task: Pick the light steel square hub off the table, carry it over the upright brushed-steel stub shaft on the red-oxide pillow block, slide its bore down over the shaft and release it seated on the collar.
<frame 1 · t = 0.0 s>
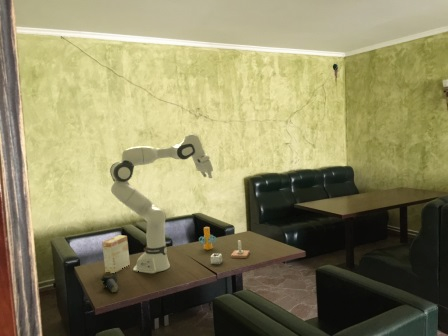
hand: (207, 177, 238), 52 cm above the table, tool tilted 20°, fingers open, 8 cm apart
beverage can: (112, 289, 200), on the table
shaft block: (240, 255, 240), on the table
hub: (216, 262, 230), on the table
coffeecake box: (117, 269, 231), on the table
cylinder: (208, 248, 258), on the table
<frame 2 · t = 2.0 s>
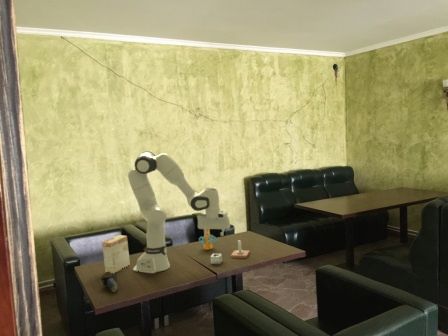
hand: (214, 235, 228), 17 cm above the table, tool pointing down, fingers open, 8 cm apart
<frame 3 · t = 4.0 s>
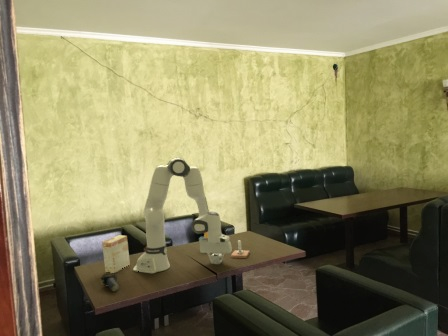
hand: (216, 259, 230), 2 cm above the table, tool pointing down, fingers closed on hub, 6 cm apart
hub: (216, 262, 230), on the table, touching gripper
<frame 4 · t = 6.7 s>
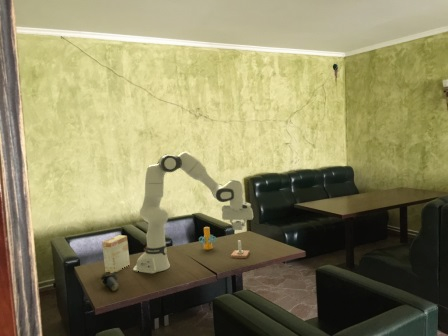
hand: (238, 226, 238), 19 cm above the table, tool pointing down, fingers closed on hub, 6 cm apart
hub: (238, 228, 238), point 18 cm above the table, touching gripper
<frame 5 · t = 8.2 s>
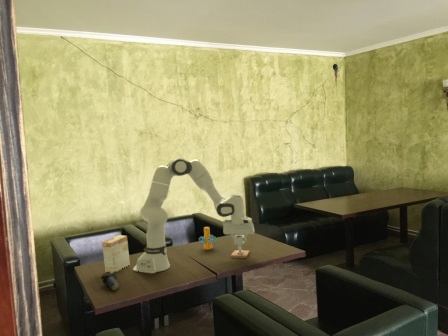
hand: (239, 240, 239), 10 cm above the table, tool pointing down, fingers closed on hub, 6 cm apart
hub: (239, 243, 239), point 8 cm above the table, touching gripper
when the fingers open (7 cm above the table, at t = 9.3 s): hub drops 2 cm, resting on shaft block.
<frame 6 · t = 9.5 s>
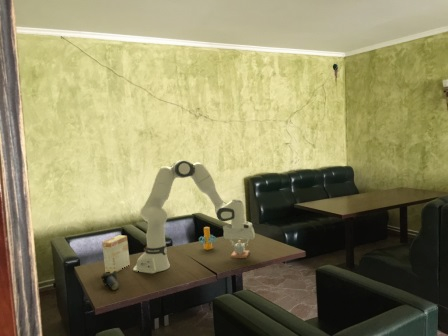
hand: (239, 245, 239), 7 cm above the table, tool pointing down, fingers open, 8 cm apart
hub: (240, 251, 239), point 2 cm above the table, touching shaft block
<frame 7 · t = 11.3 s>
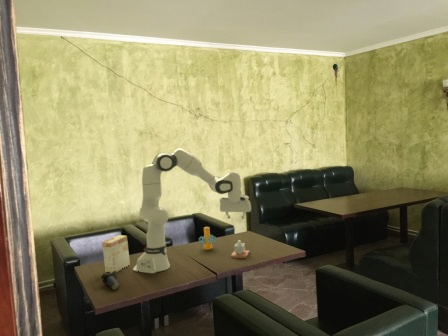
hand: (236, 218, 239), 24 cm above the table, tool pointing down, fingers open, 8 cm apart
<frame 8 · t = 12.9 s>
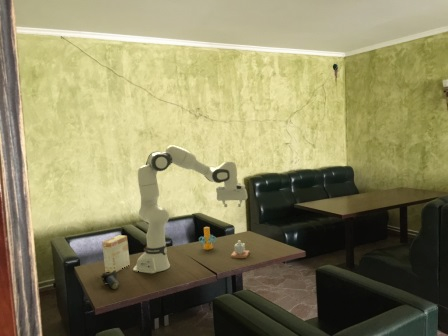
hand: (232, 206, 242), 31 cm above the table, tool pointing down, fingers open, 8 cm apart
at the end: hub 0.1 cm off-centre on the shaft block, point 2.5 cm above the shaft block's base; the gripper is holding nothing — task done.
